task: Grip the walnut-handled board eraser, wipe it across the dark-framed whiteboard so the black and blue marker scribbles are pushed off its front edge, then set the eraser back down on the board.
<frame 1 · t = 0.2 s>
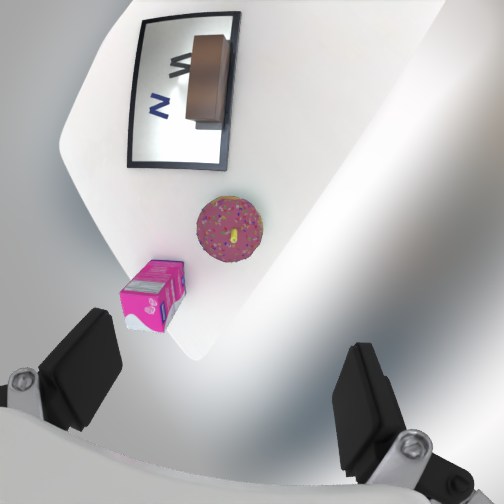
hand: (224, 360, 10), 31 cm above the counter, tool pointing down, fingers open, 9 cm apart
scribble b: (159, 105, 34), point 1 cm above the counter, touching whiteboard
eraser: (214, 84, 33), point 1 cm above the counter, touching whiteboard
cupcake: (234, 220, 41), on the counter
supplement box: (169, 275, 45), on the counter
whiteboard: (180, 86, 34), on the counter
scribble a: (180, 65, 32), point 1 cm above the counter, touching whiteboard
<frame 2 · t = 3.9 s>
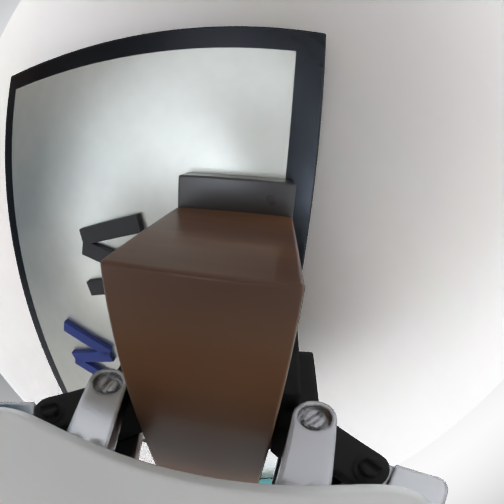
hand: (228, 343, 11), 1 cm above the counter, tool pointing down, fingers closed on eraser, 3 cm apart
scribble b: (93, 354, 13), point 1 cm above the counter, touching whiteboard
eraser: (230, 336, 12), point 1 cm above the counter, touching gripper, whiteboard
whiteboard: (131, 307, 13), on the counter
scribble a: (113, 257, 11), point 1 cm above the counter, touching whiteboard
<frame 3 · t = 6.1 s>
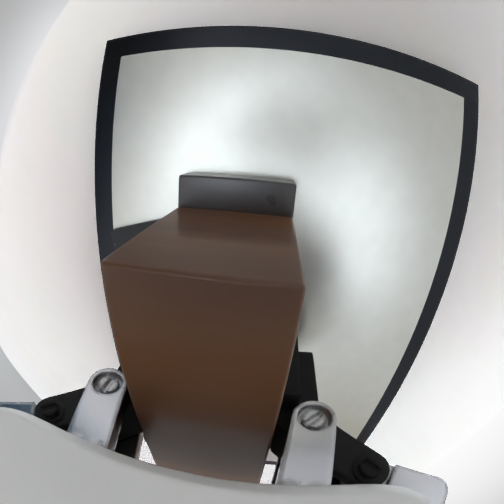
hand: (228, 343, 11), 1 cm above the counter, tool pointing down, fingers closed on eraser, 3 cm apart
eraser: (230, 337, 12), point 1 cm above the counter, touching gripper
whiteboard: (268, 327, 12), on the counter
scribble a: (149, 260, 11), point 1 cm above the counter, touching whiteboard
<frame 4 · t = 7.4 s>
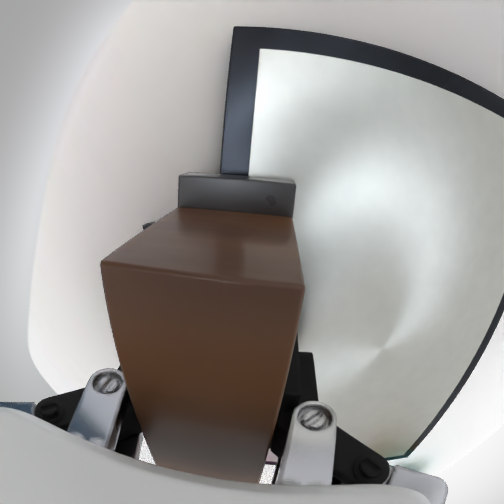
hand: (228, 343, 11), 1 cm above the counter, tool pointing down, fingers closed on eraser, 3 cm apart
eraser: (230, 337, 12), point 1 cm above the counter, touching gripper
whiteboard: (377, 335, 12), on the counter
when the fingers open (1 cm above the counter, at t = 13.1 s): eraser stays where it is, resting on whiteboard.
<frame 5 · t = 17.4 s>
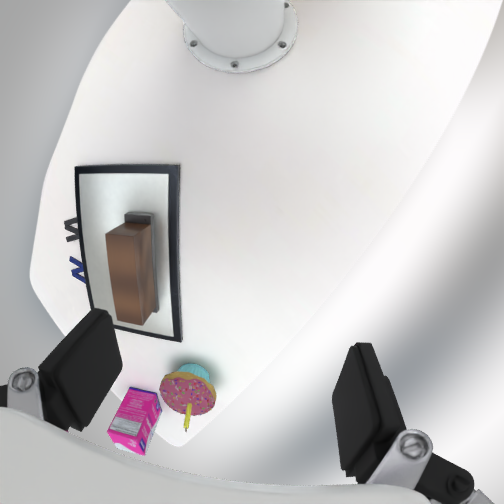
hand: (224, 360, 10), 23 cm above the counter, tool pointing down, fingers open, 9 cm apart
scribble b: (79, 269, 37), on the counter
eraser: (143, 263, 34), point 1 cm above the counter, touching whiteboard
cupcake: (195, 373, 42), on the counter
supplement box: (146, 398, 46), on the counter
whiteboard: (126, 256, 35), on the counter
scribble a: (73, 229, 35), on the counter
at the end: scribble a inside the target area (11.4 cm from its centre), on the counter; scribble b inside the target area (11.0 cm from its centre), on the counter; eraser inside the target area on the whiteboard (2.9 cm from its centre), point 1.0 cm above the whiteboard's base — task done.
